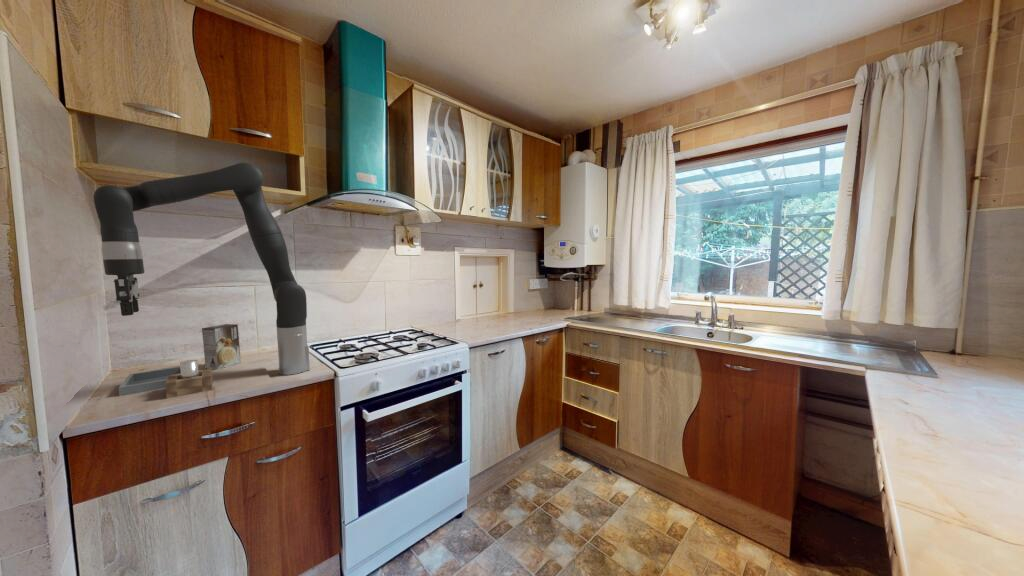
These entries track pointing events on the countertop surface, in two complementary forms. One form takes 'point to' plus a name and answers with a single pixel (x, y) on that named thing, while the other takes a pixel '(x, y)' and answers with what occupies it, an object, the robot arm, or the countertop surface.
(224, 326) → the coffee box
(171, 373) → the tray
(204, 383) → the pin block
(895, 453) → the countertop surface
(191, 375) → the pin
